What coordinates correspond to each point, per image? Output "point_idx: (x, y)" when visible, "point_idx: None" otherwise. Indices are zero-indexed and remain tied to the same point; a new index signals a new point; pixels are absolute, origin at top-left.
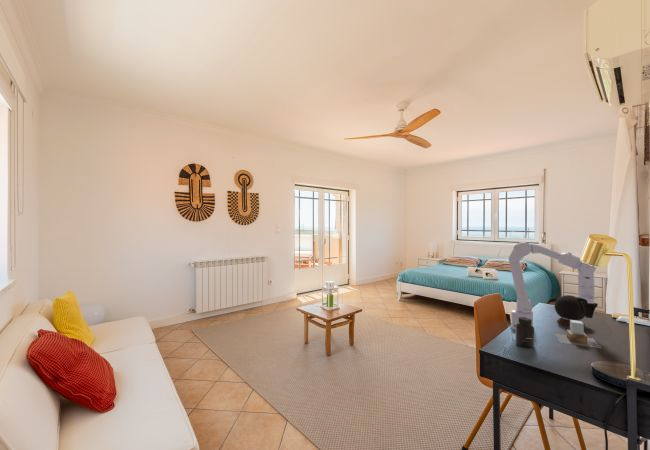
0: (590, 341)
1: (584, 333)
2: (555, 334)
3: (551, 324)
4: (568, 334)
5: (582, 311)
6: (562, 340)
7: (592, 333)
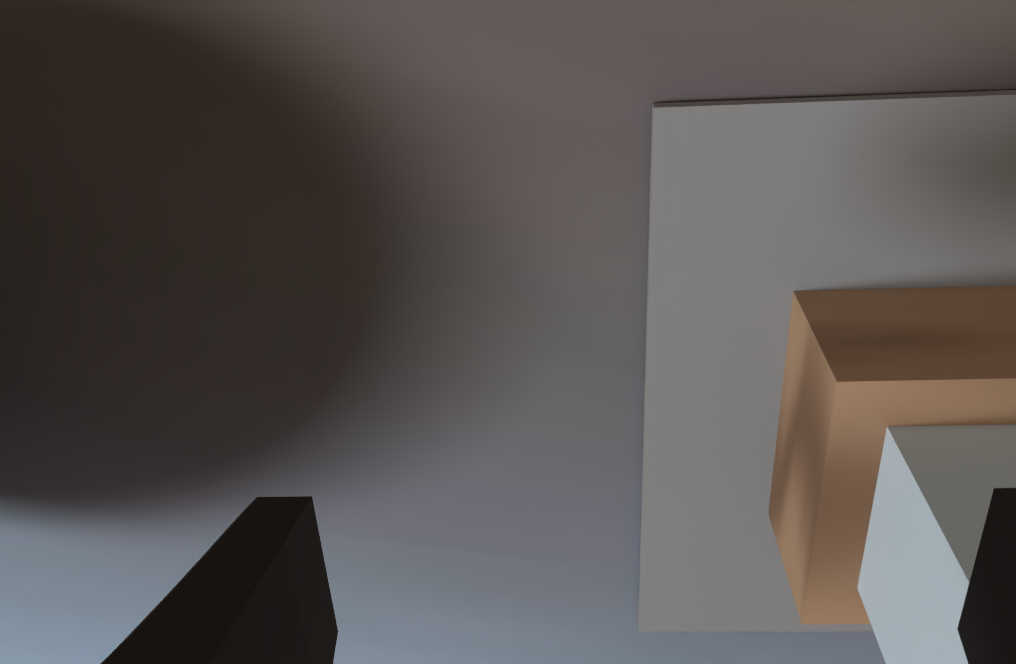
0: (895, 198)
1: (988, 389)
2: (689, 631)
3: (42, 594)
4: None
5: (320, 661)
6: None
7: (175, 17)
